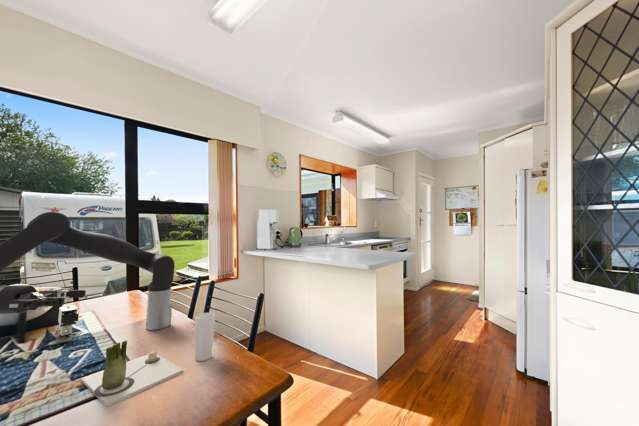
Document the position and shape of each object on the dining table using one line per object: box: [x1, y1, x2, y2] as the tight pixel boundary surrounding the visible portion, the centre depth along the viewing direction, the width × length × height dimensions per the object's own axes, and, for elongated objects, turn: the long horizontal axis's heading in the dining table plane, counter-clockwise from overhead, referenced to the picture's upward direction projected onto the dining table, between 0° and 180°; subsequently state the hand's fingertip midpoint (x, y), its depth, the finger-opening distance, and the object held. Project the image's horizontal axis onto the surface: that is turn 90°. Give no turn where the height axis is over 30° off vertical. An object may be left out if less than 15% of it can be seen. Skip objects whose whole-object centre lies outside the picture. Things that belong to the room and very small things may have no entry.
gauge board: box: [80, 350, 184, 408], centre depth 80 cm, size 20×20×3 cm
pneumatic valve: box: [57, 304, 80, 337], centre depth 111 cm, size 6×12×12 cm, turn 50°
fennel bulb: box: [102, 339, 128, 390], centre depth 74 cm, size 6×5×12 cm
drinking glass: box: [194, 312, 216, 362], centre depth 93 cm, size 7×7×15 cm
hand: (74, 297), depth 75 cm, fingers open, 8 cm apart
